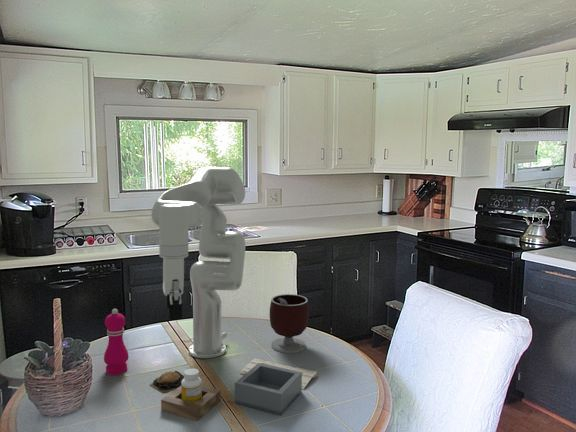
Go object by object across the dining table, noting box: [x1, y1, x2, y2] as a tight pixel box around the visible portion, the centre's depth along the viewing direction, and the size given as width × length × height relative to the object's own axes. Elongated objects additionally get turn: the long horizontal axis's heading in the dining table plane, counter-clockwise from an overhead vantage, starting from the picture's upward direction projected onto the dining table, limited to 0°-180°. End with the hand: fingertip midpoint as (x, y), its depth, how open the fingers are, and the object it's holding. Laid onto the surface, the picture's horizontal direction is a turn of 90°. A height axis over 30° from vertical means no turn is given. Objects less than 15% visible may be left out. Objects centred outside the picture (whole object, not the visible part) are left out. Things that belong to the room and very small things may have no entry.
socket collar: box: [160, 385, 222, 422], centre depth 134 cm, size 11×11×3 cm
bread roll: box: [149, 370, 184, 394], centre depth 146 cm, size 11×8×4 cm
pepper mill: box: [103, 308, 129, 376], centre depth 152 cm, size 7×7×20 cm
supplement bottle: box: [181, 368, 203, 403], centre depth 133 cm, size 5×5×10 cm
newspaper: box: [239, 358, 318, 391], centre depth 154 cm, size 23×12×2 cm, turn 65°
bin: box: [234, 363, 302, 416], centre depth 139 cm, size 14×14×6 cm
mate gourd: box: [269, 293, 310, 354], centre depth 173 cm, size 16×14×20 cm
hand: (174, 313), depth 133 cm, fingers open, 9 cm apart
